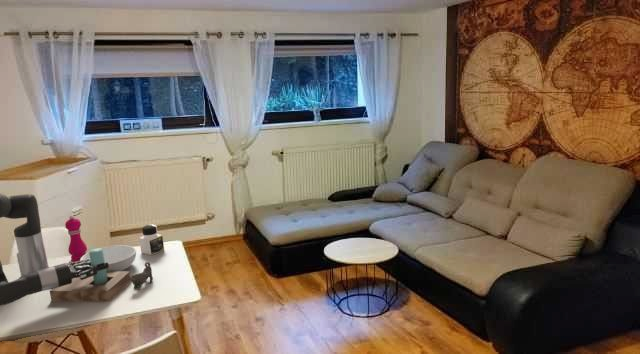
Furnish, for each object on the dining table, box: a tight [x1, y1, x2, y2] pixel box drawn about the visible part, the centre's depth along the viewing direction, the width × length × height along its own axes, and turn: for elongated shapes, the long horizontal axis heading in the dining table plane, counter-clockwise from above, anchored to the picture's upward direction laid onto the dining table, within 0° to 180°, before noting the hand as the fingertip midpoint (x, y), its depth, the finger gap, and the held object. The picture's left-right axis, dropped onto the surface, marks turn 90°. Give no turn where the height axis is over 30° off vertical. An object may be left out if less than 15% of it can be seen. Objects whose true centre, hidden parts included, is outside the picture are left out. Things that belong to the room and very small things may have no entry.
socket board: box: [49, 270, 132, 303], centre depth 176 cm, size 22×16×4 cm
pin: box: [88, 247, 108, 285], centre depth 174 cm, size 5×5×14 cm
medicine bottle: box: [138, 224, 165, 256], centre depth 210 cm, size 7×7×12 cm
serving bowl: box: [80, 244, 137, 271], centre depth 193 cm, size 21×21×7 cm
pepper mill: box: [64, 214, 88, 262], centre depth 205 cm, size 7×7×20 cm
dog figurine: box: [130, 261, 154, 291], centre depth 178 cm, size 12×6×7 cm, turn 167°
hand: (105, 262), depth 175 cm, fingers closed on pin, 4 cm apart
